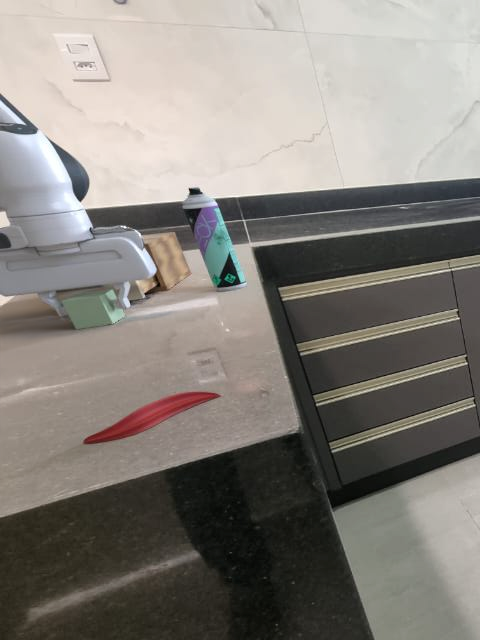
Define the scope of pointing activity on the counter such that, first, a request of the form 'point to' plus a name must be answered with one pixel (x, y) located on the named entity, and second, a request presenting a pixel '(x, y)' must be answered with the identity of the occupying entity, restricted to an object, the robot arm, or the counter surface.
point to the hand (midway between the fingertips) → (96, 311)
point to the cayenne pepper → (151, 415)
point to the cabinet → (166, 259)
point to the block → (92, 309)
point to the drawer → (134, 293)
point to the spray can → (213, 241)
